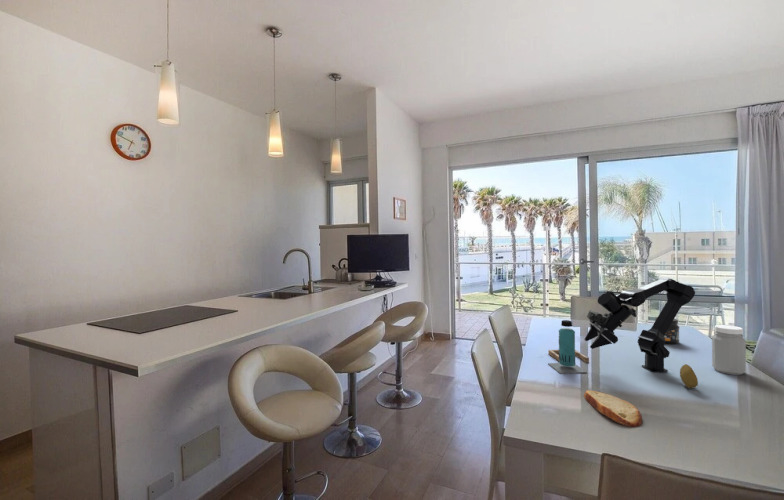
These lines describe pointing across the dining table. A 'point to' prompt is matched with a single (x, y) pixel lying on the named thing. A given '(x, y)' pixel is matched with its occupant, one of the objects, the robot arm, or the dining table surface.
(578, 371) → the rubber mat
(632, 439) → the dining table surface
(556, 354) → the frame
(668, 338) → the supplement container
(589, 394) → the bread slice
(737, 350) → the jar
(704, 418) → the dining table surface
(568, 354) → the beverage bottle
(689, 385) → the potato
